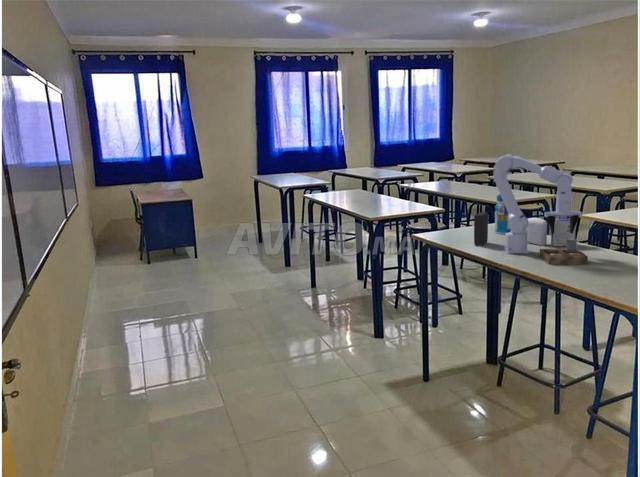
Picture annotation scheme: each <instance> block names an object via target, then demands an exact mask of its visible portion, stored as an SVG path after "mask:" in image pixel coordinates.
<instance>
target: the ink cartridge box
mask: <svg viewBox="0 0 640 477" xmlns="http://www.w3.org/2000/svg"><path fill="white" fill-rule="evenodd" d="M554 219H555V224H554V234H552V233H551V232H550V245H551V246H552V247H564V246H565V247H566V240H567V239H569V238H575V239H576V229H577V228H576V226H577V225H576V226H575V228H574V231H573V233H570V217H569V216H565V217H558V218H554Z"/></svg>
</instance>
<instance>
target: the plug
mask: <svg viewBox="0 0 640 477" xmlns="http://www.w3.org/2000/svg"><path fill="white" fill-rule="evenodd" d="M565 248H566V254H569V253H576V249H578V240H577V239H576V237H575V238H569V239H567V240H566V246H565Z"/></svg>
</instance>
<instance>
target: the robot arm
mask: <svg viewBox="0 0 640 477" xmlns="http://www.w3.org/2000/svg"><path fill="white" fill-rule="evenodd" d="M494 166H495V167H494V173H493V180H494V182H495V185H496V187H497V189H498V192H499V194H500V195H501V197H502V199H503V202H504V204H505V207H506V209H507V211H508V214H509V221H510V229H511V232H509V233H505V234H504V251H505V252H506V253H507V254H530V253H531V252H530V250H528V242H527V236H528V231H527V230H526V228H527V226H528V224H529V222H528V219H529V218H527V217H526V216H525V215H524V213H523V211H522V210H521V209H520V207H519V205H518V204H519V203H518V202H517V200H516V197H515V195H514V193H513V190H512V188H511V185H510V183H509V181H508V175H509V173H510V171H511V170H512V169H517V168H518V169H519V168H522V169H524V170H527V171H530V172H532V173H535V174H538V176H539V178H540V179H542V180H544V181H547V182H549V183H552V184H554V185H555V184H556V186H557V189H556V190H557V191H556V197H555V199H556V200H555V202H556V203H555V210H554V211H544V214H543V215H544V217H545V218H546V220H547V223H548V225H549V229H550V234H551V233H552V234H554V224H555V219H556V217H557V218H559V217H566V216H567V217H569V218H570V233H573V231H574V228H575V226H577V223H578V222H579V220H580V217H582V211H578V210H577V211H576V210H571V207H572V189H573V188H572V184H573V182H574V178H573V176H572V174H570V173H569V172H564V171H563V170H559V169H556V168H553V165H545V166H540V165H538V164H537V163H534V162H532V161H530V160H528V159H526V158H523V157H521V156H518V155H513V154H511V153H508V154H505V155H501V156H500V157H499V158H498V159H497V161H496V162H495V165H494Z"/></svg>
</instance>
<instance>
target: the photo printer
mask: <svg viewBox="0 0 640 477" xmlns="http://www.w3.org/2000/svg"><path fill="white" fill-rule="evenodd" d="M527 219H528V222H529V224H528V226H527V228H526V230H527V231H528V236H527V244H528V243H529V244H532V245H538V246H541V247H542V246H546V244H547V236H548V235H547V234H548V221H546V220H544V219H542V218H540V217H529V218H527Z"/></svg>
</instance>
